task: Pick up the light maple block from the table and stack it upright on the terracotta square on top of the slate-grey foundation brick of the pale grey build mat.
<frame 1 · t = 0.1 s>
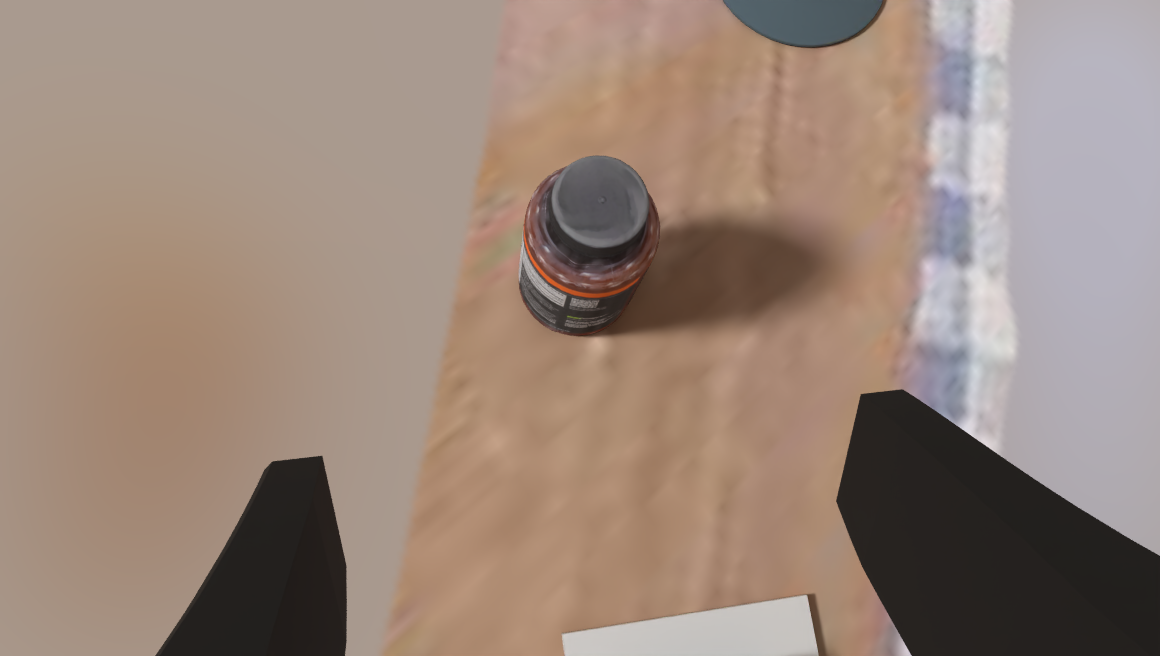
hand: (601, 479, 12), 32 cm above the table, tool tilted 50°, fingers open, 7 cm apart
supplement bottle: (573, 284, 47), on the table
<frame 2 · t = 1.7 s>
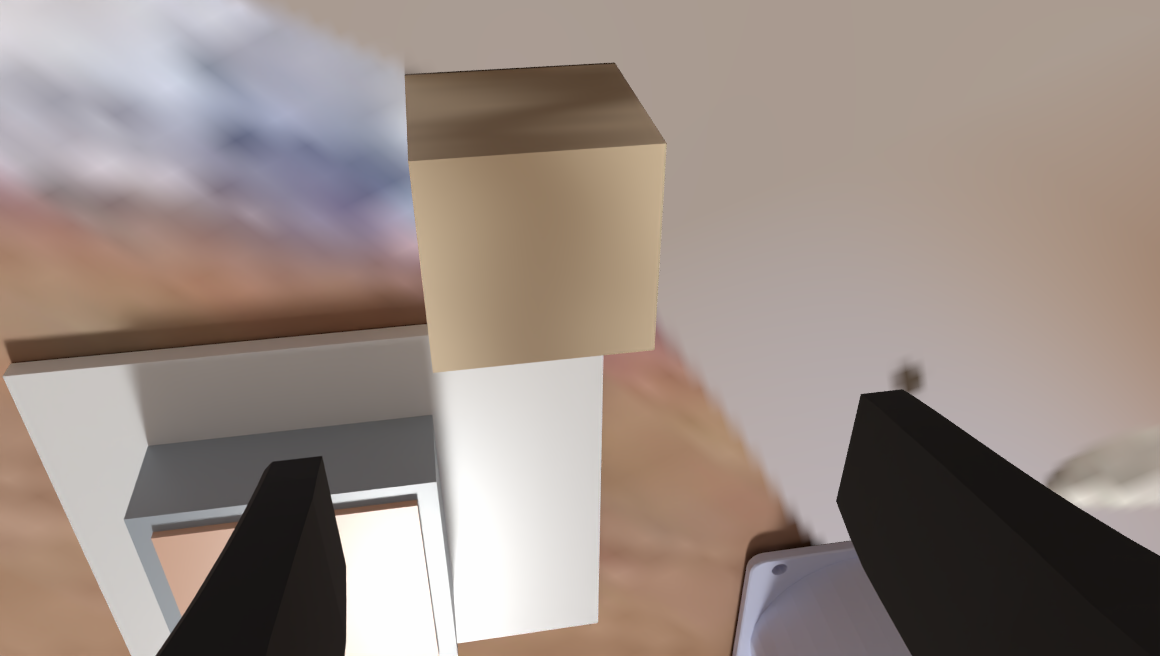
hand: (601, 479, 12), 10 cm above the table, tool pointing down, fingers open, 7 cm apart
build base: (353, 508, 25), on the table
maple block: (515, 165, 20), on the table
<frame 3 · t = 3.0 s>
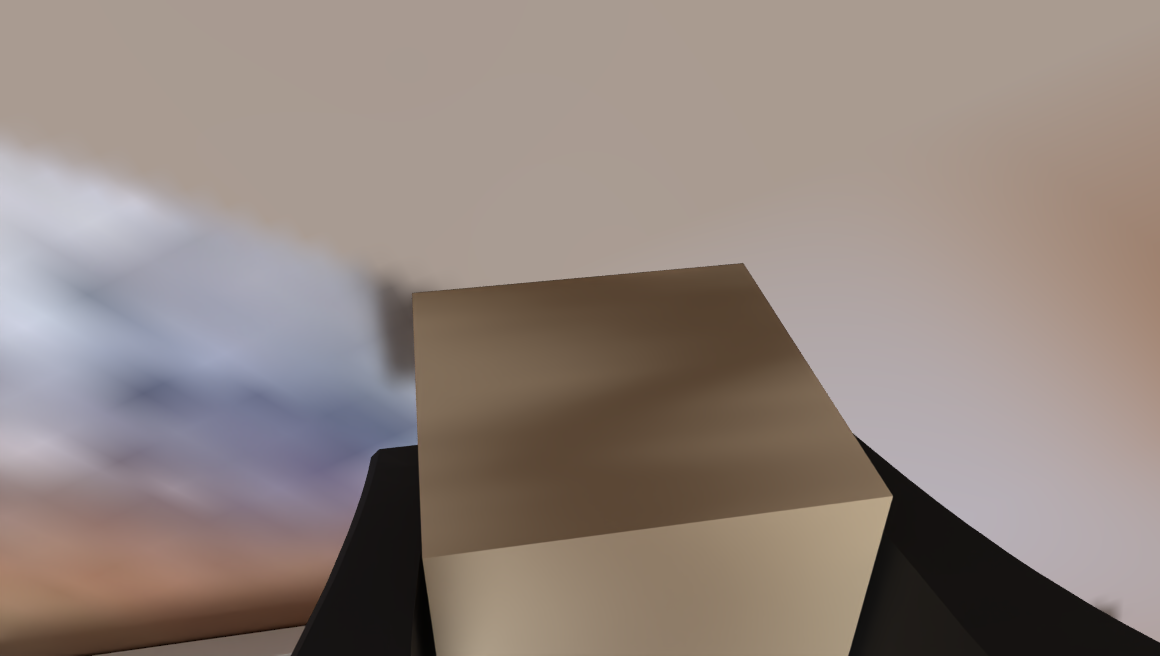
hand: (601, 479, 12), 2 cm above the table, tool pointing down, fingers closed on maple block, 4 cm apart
maple block: (581, 407, 13), on the table, touching gripper
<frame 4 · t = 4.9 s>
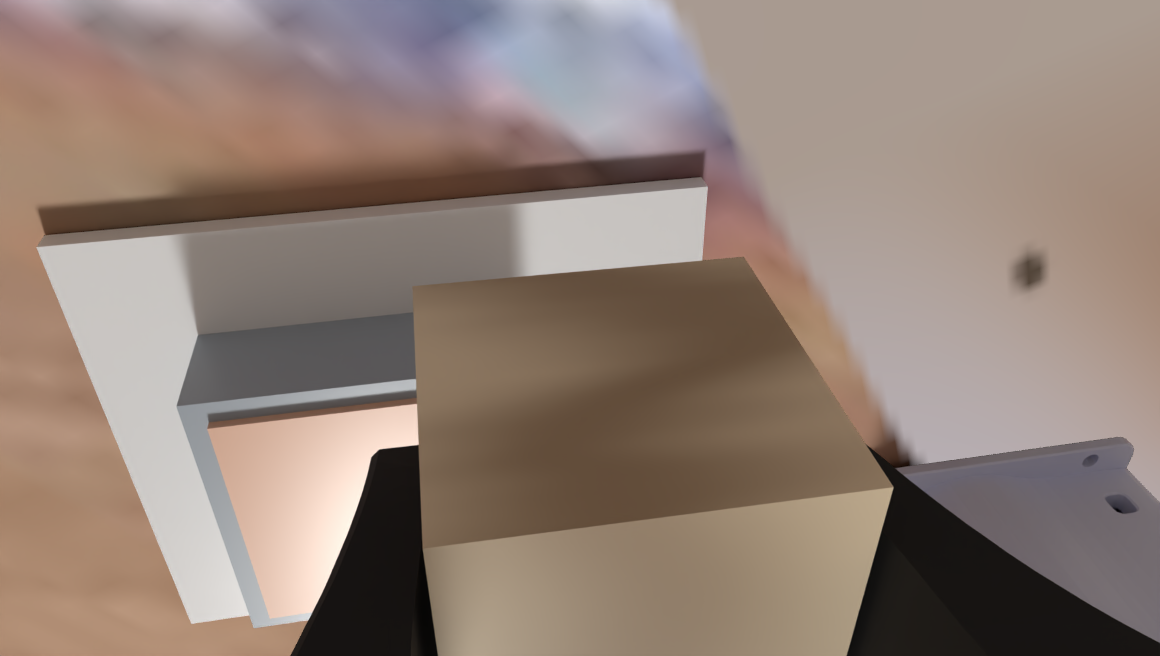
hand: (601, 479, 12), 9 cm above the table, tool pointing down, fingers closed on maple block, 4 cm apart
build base: (420, 416, 23), on the table
maple block: (581, 401, 13), point 8 cm above the table, touching gripper
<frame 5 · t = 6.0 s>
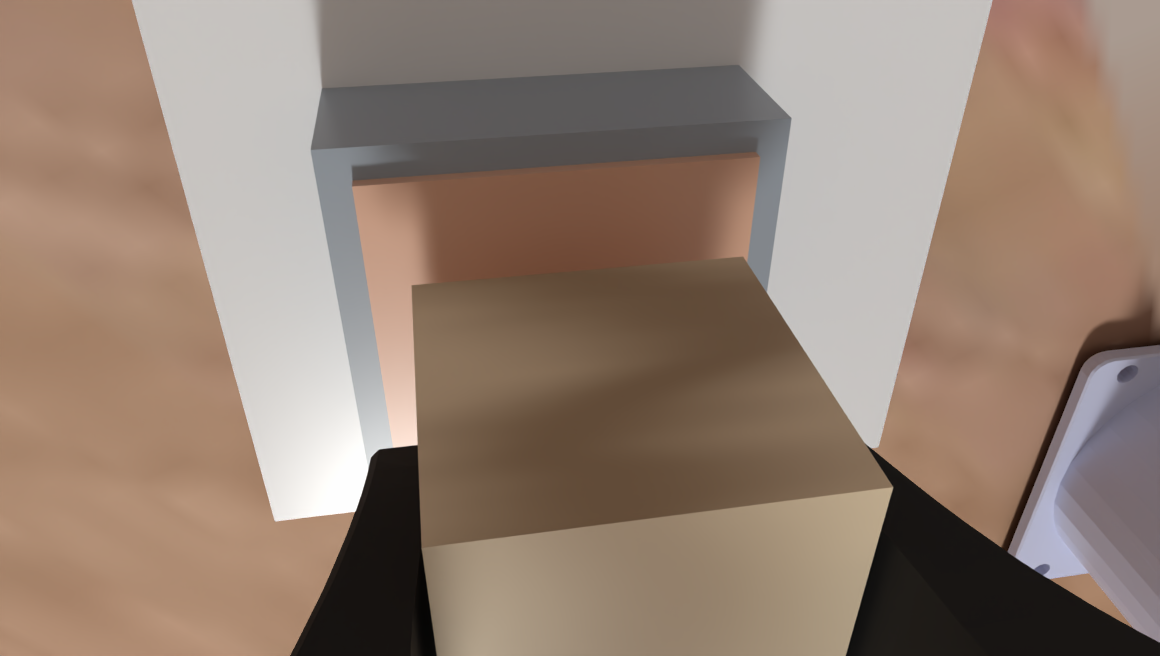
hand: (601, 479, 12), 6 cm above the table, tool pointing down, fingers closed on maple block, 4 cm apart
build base: (589, 241, 17), on the table
maple block: (580, 401, 13), point 5 cm above the table, touching gripper
when the fingers open (6 cm above the table, at t = 6.7 s): maple block stays where it is, resting on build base.
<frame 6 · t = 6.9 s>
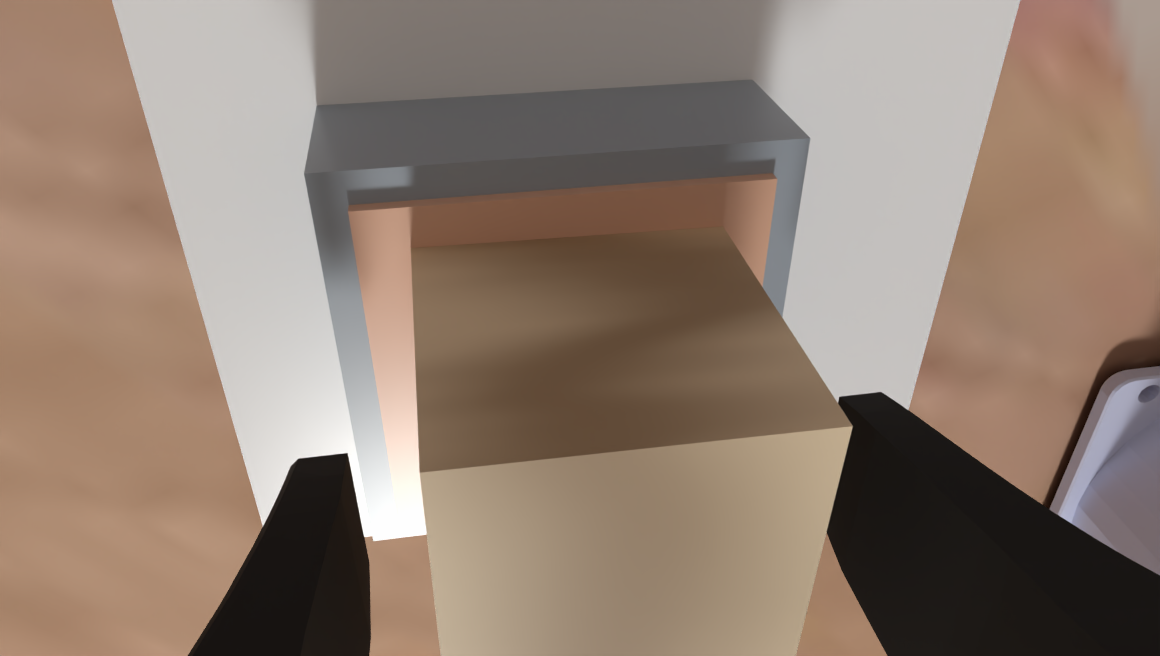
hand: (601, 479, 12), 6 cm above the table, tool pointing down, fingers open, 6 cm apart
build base: (595, 261, 17), on the table
maple block: (569, 363, 14), point 3 cm above the table, touching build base
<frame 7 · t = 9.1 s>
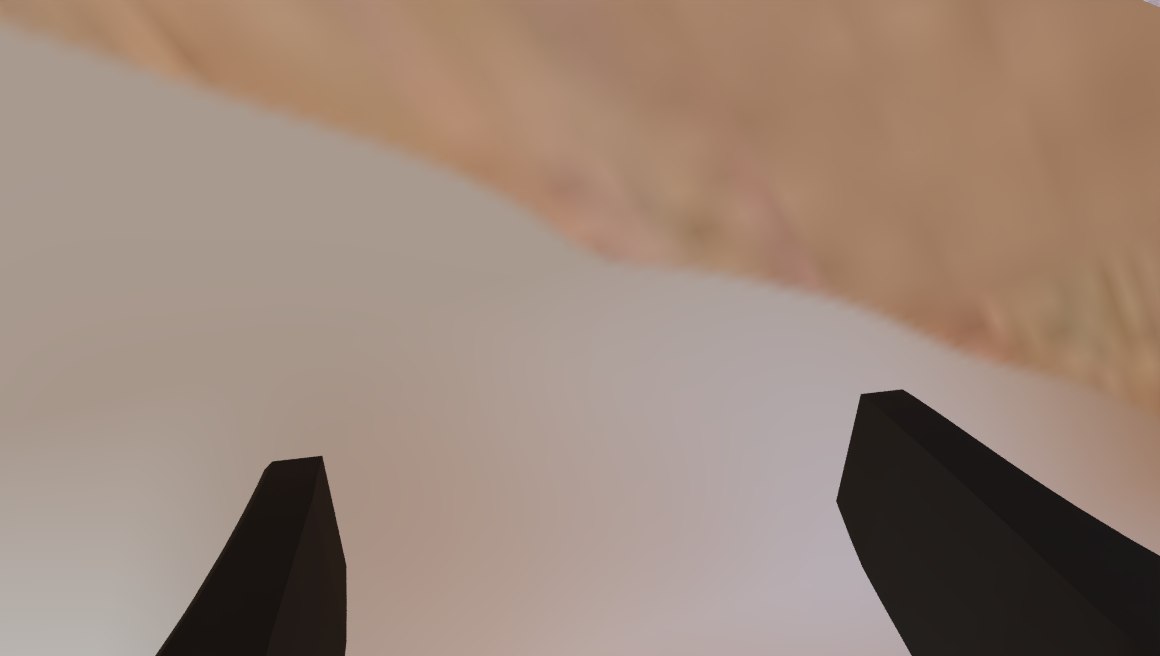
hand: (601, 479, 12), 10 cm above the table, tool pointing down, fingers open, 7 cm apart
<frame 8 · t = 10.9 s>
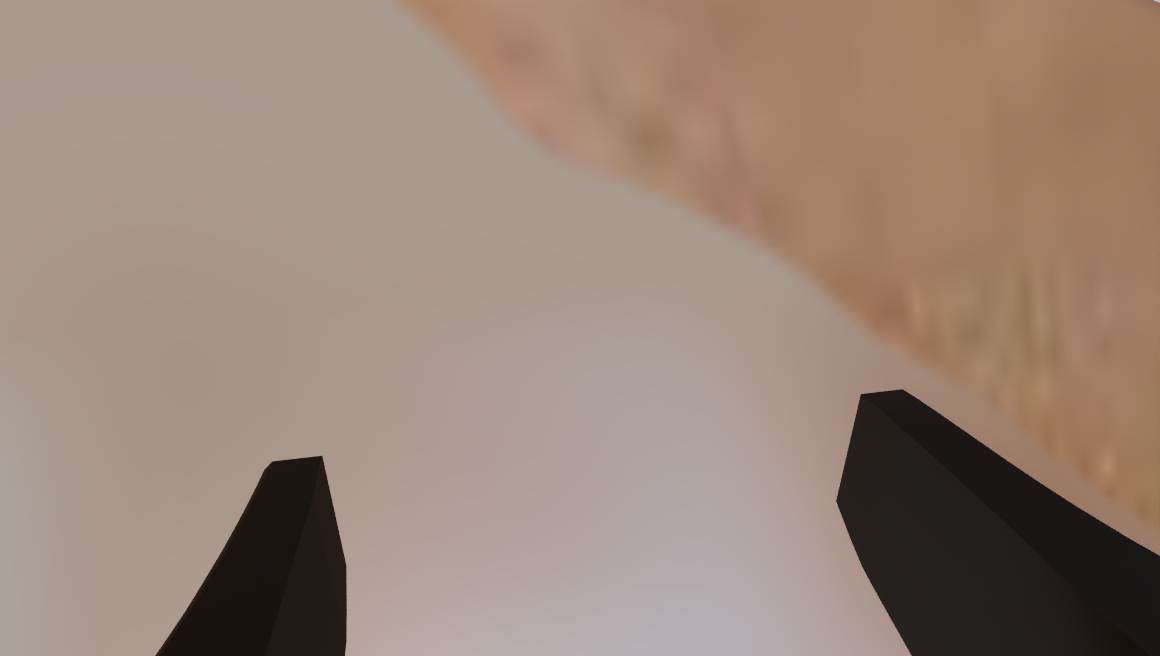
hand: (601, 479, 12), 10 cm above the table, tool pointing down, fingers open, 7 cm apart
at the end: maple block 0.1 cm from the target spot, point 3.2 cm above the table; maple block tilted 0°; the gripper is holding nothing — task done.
